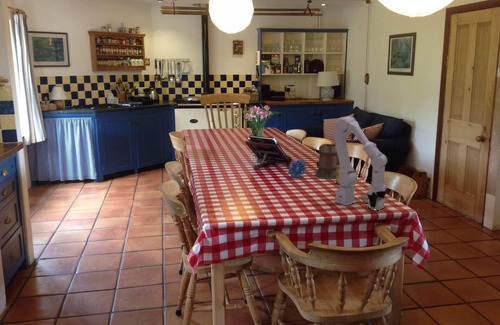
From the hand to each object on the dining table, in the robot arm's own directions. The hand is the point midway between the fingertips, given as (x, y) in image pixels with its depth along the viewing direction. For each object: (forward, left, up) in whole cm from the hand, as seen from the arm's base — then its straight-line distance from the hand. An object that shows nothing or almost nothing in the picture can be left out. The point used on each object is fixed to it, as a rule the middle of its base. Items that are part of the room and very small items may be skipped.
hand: (376, 205), depth 226 cm
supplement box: (+26, +38, -2) cm, 46 cm away
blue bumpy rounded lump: (+17, +66, -2) cm, 68 cm away
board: (+11, +8, -1) cm, 14 cm away
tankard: (+36, +58, -2) cm, 69 cm away
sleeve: (0, 0, -1) cm, 1 cm away
